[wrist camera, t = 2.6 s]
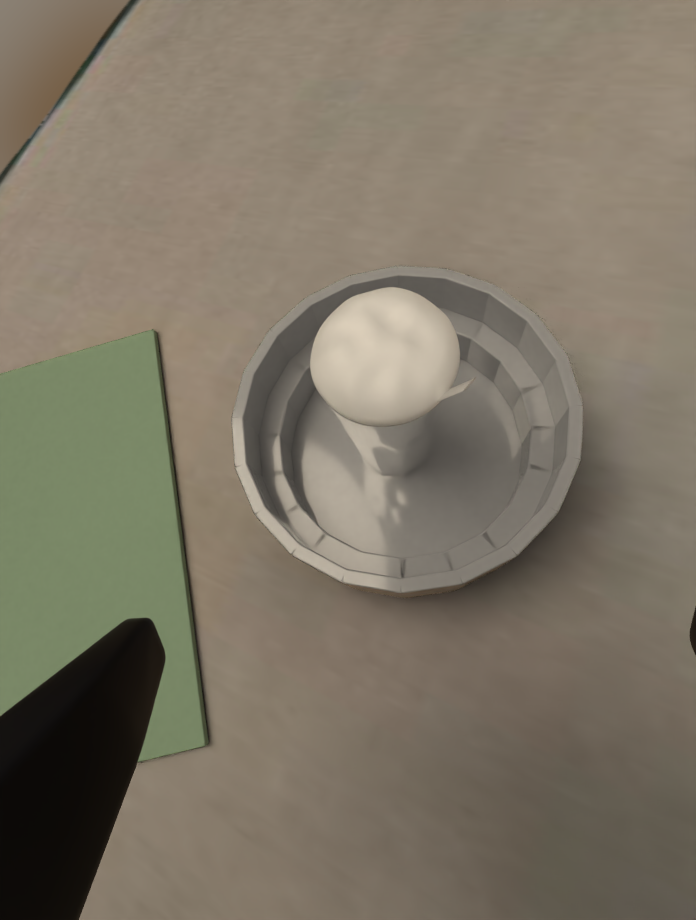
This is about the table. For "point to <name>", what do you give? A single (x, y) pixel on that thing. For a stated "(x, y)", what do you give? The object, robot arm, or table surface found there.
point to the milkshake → (388, 374)
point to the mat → (94, 527)
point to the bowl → (448, 463)
